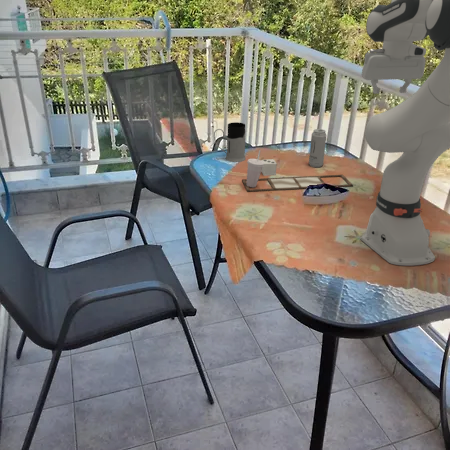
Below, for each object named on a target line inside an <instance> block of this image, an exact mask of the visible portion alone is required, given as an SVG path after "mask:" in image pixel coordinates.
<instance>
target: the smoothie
mask: <svg viewBox="0 0 450 450" xmlns="http://www.w3.org/2000/svg"><path fill="white" fill-rule="evenodd" d="M260 157H261V150H258V155H257V158H249V159H247V161H246V163H247V169H246V179H247V181H246V183H247V184H246V185H247V186H248V187H249V188H256V187H257V185H258V182H259V181H258V179H260V176H261V174H262V172H261V171H262V168H263V166H264V162H263V161H261V160H262V159H260Z"/></svg>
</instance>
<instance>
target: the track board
mask: <svg viewBox="0 0 450 450" xmlns="http://www.w3.org/2000/svg"><path fill="white" fill-rule="evenodd" d="M338 177H339V178H342V180H344V182H346V184H334V185H333V186H338V187H337V188H347V187H348V188H352V187H354V184H352V182H351V181H350V180H349V179H348V178H347V177H346V176H345V175H344V174H330V175H329V174H327V175H326V174H325V175H324V174H322V175H309V176H308V175H307V176H306V175H304V176H287V177H285V176H284V177H267V178H259V179H258V182H262V181H264V182H265V181H267V182H268V183H269V185H270V187H271V188H259V189H258V188H257V189H254V188H252V189H251V188H250V187H249V186H247V185H246V184H247V178H246V179H244V178H243V179H242V180H241V181H242V184H243V186H244V188H245V190H246V192H247V193H256V192H259V193H260V192H272V191H273V192H274V191H291V190H292V191H293V190H294V191H296V190H297V191H298V190H307V189H306V188H307V186H309V185H317V184H322V183H325V182H324V180H323V179H324V178H326V179H327V178H338Z"/></svg>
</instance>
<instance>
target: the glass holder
mask: <svg viewBox="0 0 450 450" xmlns="http://www.w3.org/2000/svg"><path fill="white" fill-rule="evenodd" d="M217 131H221V132H222V137H223V139H226V150H224V148H221V146H219V144H218V143H217V141H216V132H217ZM224 131H225V130H223V129H222V128H217V129H215V130H214V132H213V139H214V143H215V144H216V147H218V148H219V149H220V150H221V151H223V152H224V153H225V154H226V155H225V160H226V161H228V162H230V163H231V162H232V163H241V162H245V161H246V160H247V159H246V155H245V154H246V132H247V131H246V124H245V123H244V122H236V121H234V122H230V123H227V136H226V137H225V132H224Z"/></svg>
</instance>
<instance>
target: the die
mask: <svg viewBox="0 0 450 450" xmlns="http://www.w3.org/2000/svg"><path fill="white" fill-rule="evenodd" d="M260 160H261V161H263V162H264V166H263V168H262V171H261V175H263V176H264V177H265V176H276V175H277V164H278V163H277V162H276V160H275V159H260Z"/></svg>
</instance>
